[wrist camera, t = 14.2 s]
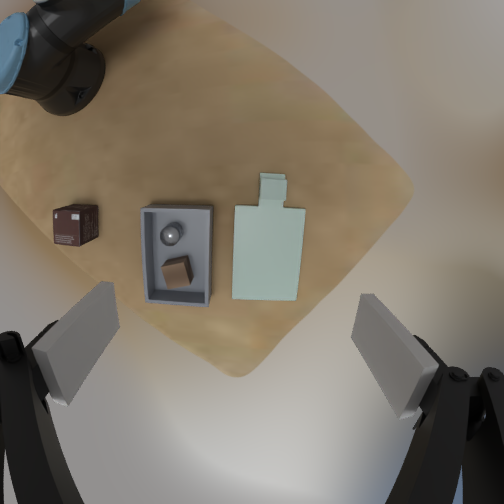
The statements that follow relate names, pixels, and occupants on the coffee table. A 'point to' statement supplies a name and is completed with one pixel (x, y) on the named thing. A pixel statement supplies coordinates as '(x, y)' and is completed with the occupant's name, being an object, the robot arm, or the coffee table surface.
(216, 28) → the coffee table surface
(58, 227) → the box
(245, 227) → the lid
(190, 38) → the coffee table surface
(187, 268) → the walnut block
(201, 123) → the coffee table surface
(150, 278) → the tub
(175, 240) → the metal peg
